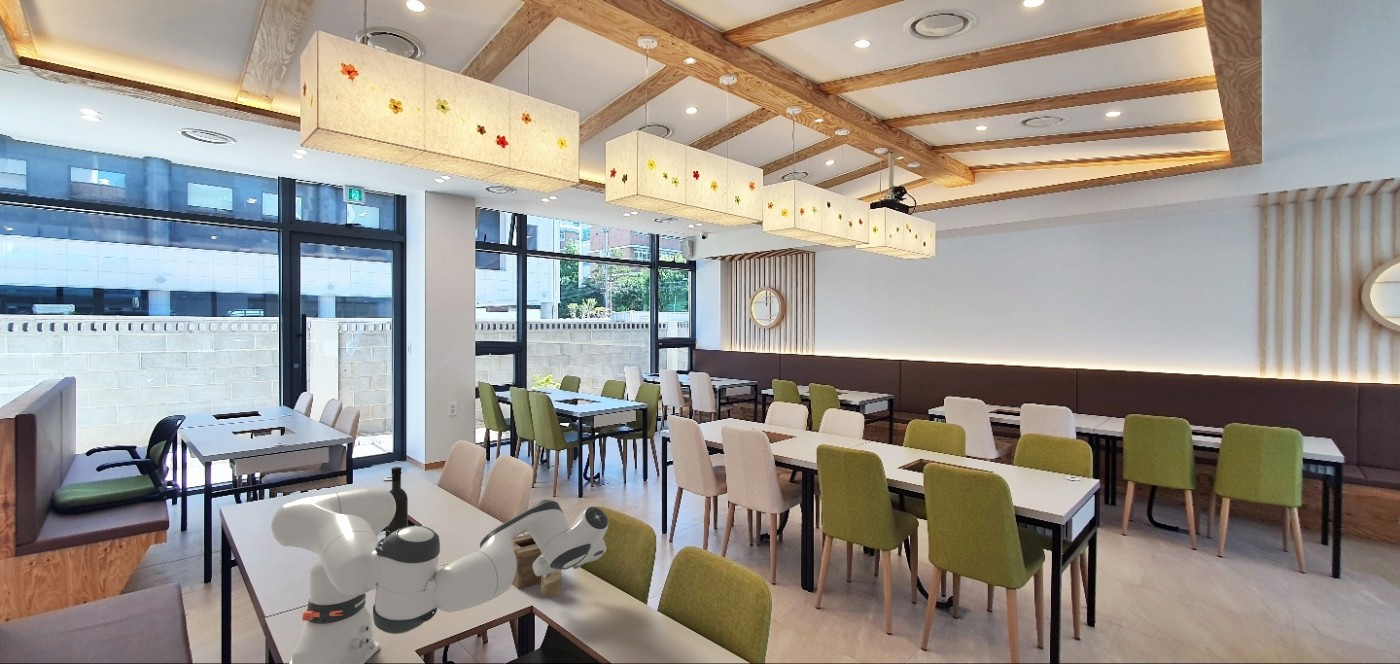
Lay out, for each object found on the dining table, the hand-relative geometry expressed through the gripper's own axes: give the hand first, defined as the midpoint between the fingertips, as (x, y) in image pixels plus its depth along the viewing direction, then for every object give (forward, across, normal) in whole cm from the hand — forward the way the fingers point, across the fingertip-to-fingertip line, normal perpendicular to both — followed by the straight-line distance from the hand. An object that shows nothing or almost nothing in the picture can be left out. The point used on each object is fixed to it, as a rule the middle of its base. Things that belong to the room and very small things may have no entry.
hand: (560, 570), depth 175 cm
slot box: (+20, -1, +8) cm, 21 cm away
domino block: (+9, -1, -2) cm, 9 cm away
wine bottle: (+51, -29, +40) cm, 71 cm away
